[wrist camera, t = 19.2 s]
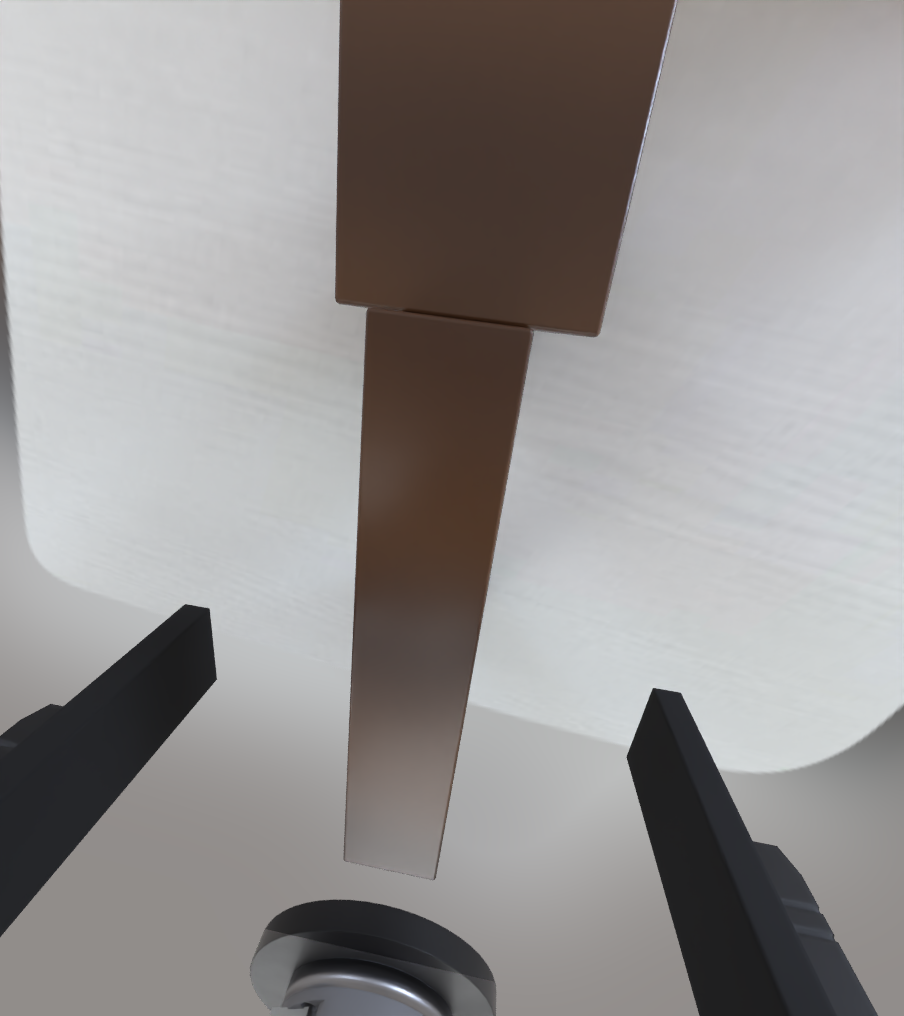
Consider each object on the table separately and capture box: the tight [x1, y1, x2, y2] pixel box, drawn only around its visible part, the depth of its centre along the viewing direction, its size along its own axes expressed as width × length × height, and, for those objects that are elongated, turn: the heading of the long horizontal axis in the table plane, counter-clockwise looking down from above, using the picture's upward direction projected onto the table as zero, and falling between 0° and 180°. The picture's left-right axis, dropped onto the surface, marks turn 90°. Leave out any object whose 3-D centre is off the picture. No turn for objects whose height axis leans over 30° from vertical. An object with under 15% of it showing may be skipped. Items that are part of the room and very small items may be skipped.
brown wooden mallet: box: [335, 0, 678, 880], centre depth 13 cm, size 18×5×12 cm, turn 173°
